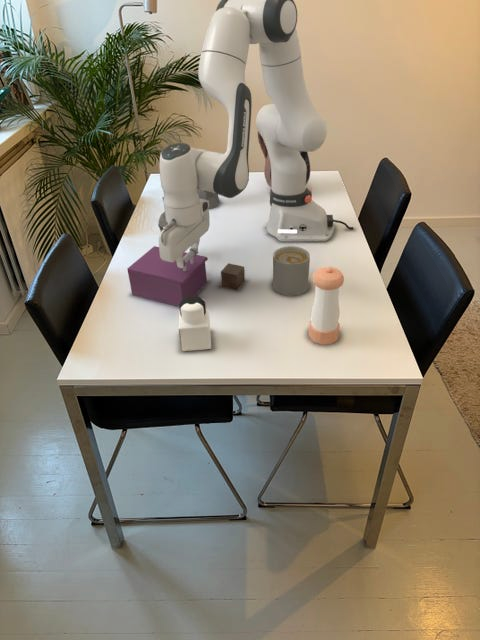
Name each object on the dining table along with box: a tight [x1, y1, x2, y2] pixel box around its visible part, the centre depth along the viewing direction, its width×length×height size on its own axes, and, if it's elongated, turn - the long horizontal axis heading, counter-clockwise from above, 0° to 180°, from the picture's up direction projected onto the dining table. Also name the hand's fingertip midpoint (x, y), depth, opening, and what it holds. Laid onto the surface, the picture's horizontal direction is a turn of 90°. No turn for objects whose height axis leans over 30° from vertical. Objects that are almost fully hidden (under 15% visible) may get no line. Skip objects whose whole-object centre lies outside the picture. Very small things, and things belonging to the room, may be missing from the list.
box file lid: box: [126, 245, 208, 284], centre depth 136 cm, size 18×14×5 cm
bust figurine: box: [178, 295, 212, 352], centre depth 119 cm, size 7×7×12 cm
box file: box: [127, 262, 208, 307], centre depth 140 cm, size 17×14×8 cm
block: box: [220, 263, 246, 291], centre depth 142 cm, size 5×5×5 cm
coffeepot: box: [197, 190, 221, 210], centre depth 182 cm, size 15×9×18 cm, turn 1°
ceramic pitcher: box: [257, 131, 311, 189], centre depth 189 cm, size 18×21×25 cm
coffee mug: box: [272, 245, 311, 297], centre depth 140 cm, size 13×10×10 cm
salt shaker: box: [308, 266, 345, 345], centre depth 117 cm, size 7×7×19 cm
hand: (188, 260), depth 133 cm, fingers open, 5 cm apart
